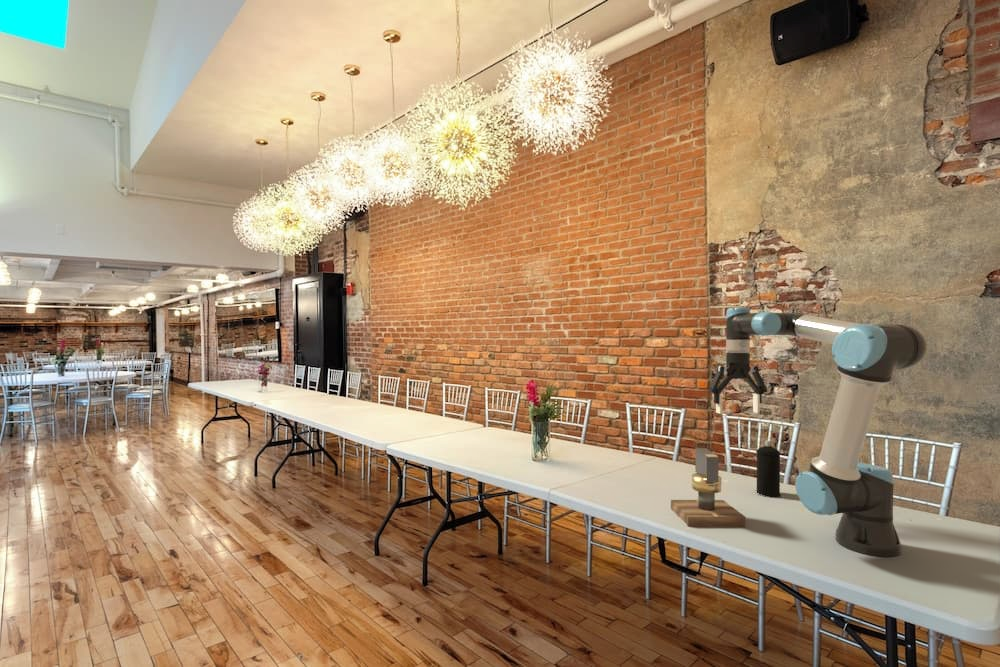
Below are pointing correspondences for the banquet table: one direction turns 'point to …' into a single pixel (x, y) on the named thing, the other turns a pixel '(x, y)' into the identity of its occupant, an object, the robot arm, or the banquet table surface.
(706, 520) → the base
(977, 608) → the banquet table surface
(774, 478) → the aerosol can
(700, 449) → the coupling
